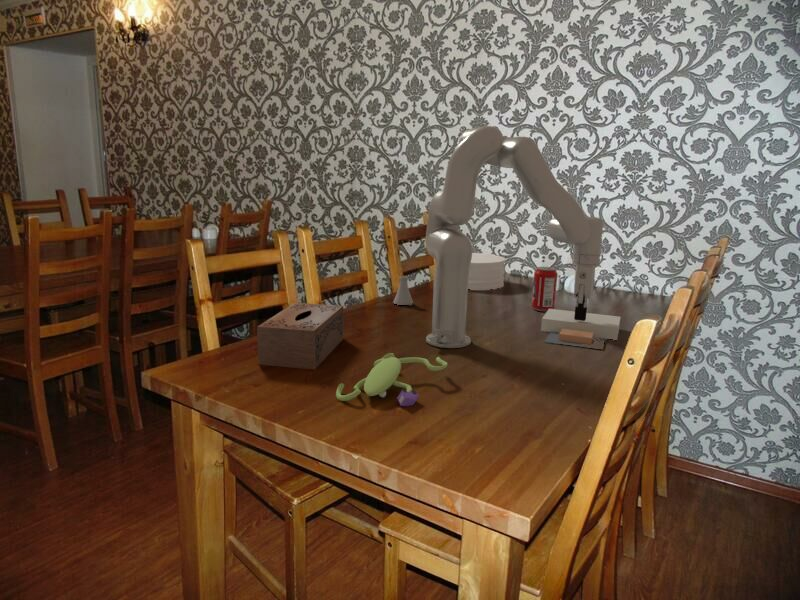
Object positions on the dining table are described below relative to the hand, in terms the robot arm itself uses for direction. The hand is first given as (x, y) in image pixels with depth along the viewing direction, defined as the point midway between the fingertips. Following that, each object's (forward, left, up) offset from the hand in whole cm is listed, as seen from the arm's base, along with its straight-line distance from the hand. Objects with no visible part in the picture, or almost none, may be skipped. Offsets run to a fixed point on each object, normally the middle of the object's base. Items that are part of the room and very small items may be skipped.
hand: (579, 319), depth 172 cm
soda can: (+26, +15, -5) cm, 31 cm away
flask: (+10, +62, -5) cm, 63 cm away
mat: (-8, 0, -5) cm, 9 cm away
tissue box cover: (-51, +65, -5) cm, 83 cm away
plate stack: (+59, +51, -5) cm, 78 cm away
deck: (+5, 0, -5) cm, 7 cm away
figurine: (-62, +34, -5) cm, 71 cm away
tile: (-7, 0, -2) cm, 8 cm away
